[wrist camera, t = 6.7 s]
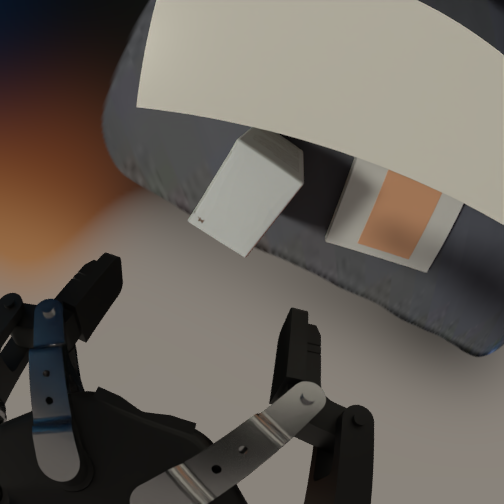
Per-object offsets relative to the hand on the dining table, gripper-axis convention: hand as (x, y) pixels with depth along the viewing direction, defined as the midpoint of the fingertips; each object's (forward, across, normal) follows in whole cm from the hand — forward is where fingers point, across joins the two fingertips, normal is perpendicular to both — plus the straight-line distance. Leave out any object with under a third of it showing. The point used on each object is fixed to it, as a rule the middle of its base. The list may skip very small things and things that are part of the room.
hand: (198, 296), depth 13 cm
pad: (+20, -16, 0) cm, 26 cm away
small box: (+21, 0, 0) cm, 21 cm away
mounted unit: (+20, -6, -11) cm, 24 cm away
